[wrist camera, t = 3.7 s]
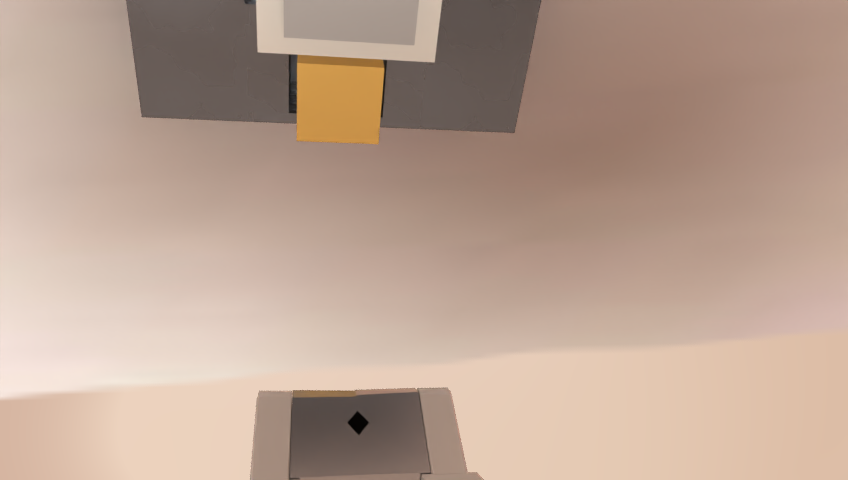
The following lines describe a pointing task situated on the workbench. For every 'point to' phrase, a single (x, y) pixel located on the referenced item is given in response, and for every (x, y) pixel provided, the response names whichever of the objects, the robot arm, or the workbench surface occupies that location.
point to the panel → (277, 73)
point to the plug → (350, 28)
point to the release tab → (339, 99)
